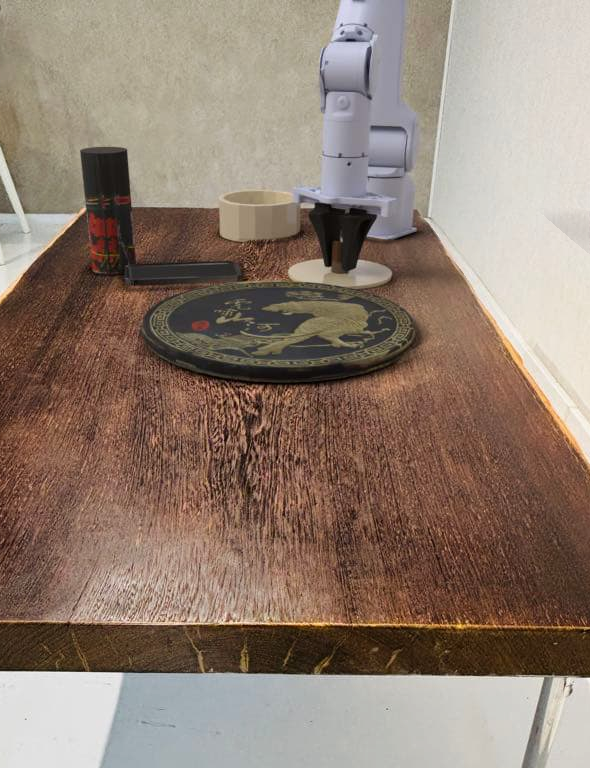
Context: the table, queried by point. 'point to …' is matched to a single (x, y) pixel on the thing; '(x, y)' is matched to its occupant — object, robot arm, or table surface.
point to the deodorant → (108, 208)
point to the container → (258, 215)
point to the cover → (340, 271)
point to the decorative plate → (278, 331)
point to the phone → (182, 273)
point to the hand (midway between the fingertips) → (339, 267)
